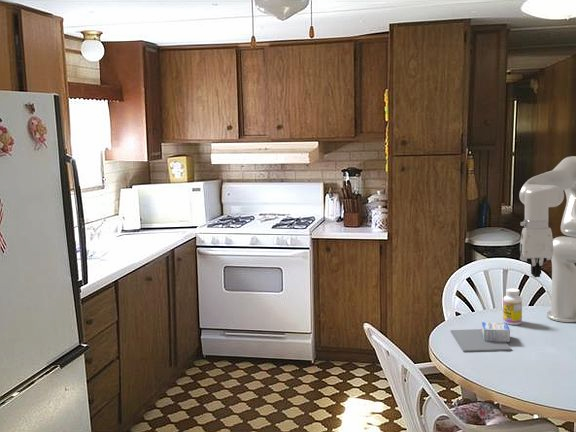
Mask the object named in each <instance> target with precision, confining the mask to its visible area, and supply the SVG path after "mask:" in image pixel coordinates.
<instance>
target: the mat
mask: <svg viewBox="0 0 576 432" xmlns="http://www.w3.org/2000/svg"><path fill="white" fill-rule="evenodd" d="M450 333H451V335H452V336H453V337H454V339H455V341H456V342H457V344H458V346H459V348H461V350H462V352H463V353H471V352H472V353H474V352H475V353H476V352H477V353H478V352H479V353H481V352H510V351H511V352H512V348H511V346H509V344H508V342H499V341H484V338H483V335H482V328H480V329H476V328H475V329H451V330H450Z"/></svg>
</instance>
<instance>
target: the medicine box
mask: <svg viewBox="0 0 576 432" xmlns="http://www.w3.org/2000/svg"><path fill="white" fill-rule="evenodd" d="M508 325H509V324H507V323H504V322H494V321H493V322H491V321H489V322H487V321H483V322H481V329H482V335H483V338H484V341H499V342H506V343H509V342H510V341H511V340H510V339H511V329H510V327H509V326H508Z"/></svg>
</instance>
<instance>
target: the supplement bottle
mask: <svg viewBox="0 0 576 432" xmlns="http://www.w3.org/2000/svg"><path fill="white" fill-rule="evenodd" d="M505 291H506V292H505V293H506V295H504V296H503V299H502V300H503V301H502V302H503V304H502V305H503V306H502V308H503V311H502V312H503V313H502V318H503V320H502V321H503V323H507V325H509V326H510V325H511V326H517V325H520V324H522V322H523V320H522V319H523V315H522V314H523V299H522V296H520V289H518V288H513V287H512V288H506V290H505Z"/></svg>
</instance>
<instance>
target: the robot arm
mask: <svg viewBox="0 0 576 432" xmlns="http://www.w3.org/2000/svg"><path fill="white" fill-rule="evenodd" d="M518 195H519V197H518V198H519V200H520V202H521V203H522V204H523V205H524V219H523V221H520V223H519V224H520V226H521V227H523V228H522V230H521V235H520V241H519V254H520V257H519V260H521V261H522V262H527V263H529V265H530V274H531V276H533V277H534V278H541V275H542V266H543V265H544V263H546V262H547V261H550V260H551V308H550V309H551V310H548V311H547V313H546V317H547V318H548V319H550V320H552V321H556V322H561V323H576V156H575V155H574V156H573V155H571V156H567V157H564V158H563V159H562V160H561V161H560V162H559V163H558V164H557V165H556V166H555V167H554V168H553V169H552V170H550V171H546V172H544V173H543V172H542V173H540V174H538V175H535V176H532V177H531V178H529V179H527V181H525V183H524V184H523V185H522V187H521V189H520V191H519V194H518ZM565 198H566V203H565V208H564V211H563V214H562V219H561V223H560V232H561V233H562V234H563V235H565V236H562V235H561V236H557V237H556V236H555V238H553V232H552V228H551V227H549V208H556V207H558V206H559V205H561V204H562V203H563V201H564V199H565Z"/></svg>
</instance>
